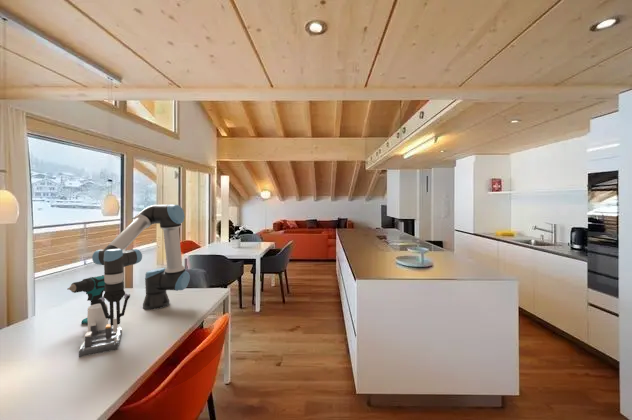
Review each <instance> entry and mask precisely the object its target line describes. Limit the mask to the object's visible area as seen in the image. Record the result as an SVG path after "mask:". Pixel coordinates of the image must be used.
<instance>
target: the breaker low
mask: <svg viewBox="0 0 632 420" xmlns="http://www.w3.org/2000/svg"><path fill="white" fill-rule="evenodd" d="M91 332H92V335H97V322H92V323H91Z"/></svg>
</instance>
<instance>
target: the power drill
mask: <svg viewBox="0 0 632 420" xmlns="http://www.w3.org/2000/svg"><path fill="white" fill-rule="evenodd" d="M67 290H69V291H71V292H72V293H73V294H75V293H82V292H84V293H86V294H85V295H87V300H86V301H89V302H90V306H91V305H94V304H100V303H99V302H98V300H99V298H102V297H103V296H104V294H103V293H105V281H104V274H103V275H99V276H90V277H88V278H83V279H82V280H79V281H75V282H73V283H71V284H70V286H69V287H68V288H67ZM108 320H110V319H109V318H108ZM82 324H83V325H84V324H88V319H87V317H85V318H83V319H82V320H81V325H82Z"/></svg>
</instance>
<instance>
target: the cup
mask: <svg viewBox="0 0 632 420" xmlns="http://www.w3.org/2000/svg"><path fill="white" fill-rule="evenodd" d="M105 304H106V307H107V310H108V311H109V307H108V304H107V303H105ZM86 315H87V317H86V318H87V319H88V323H87V329H88V330H87V332H91V323H92V322H97V331H98V330H104V329H105V327H106V325H107V324H109V319H108V318H107V319H106V318H105V315H104V312H103V309H102V306H101V304H94V305H91V304H90V306H88V308H87V314H86Z"/></svg>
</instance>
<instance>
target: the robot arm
mask: <svg viewBox="0 0 632 420" xmlns="http://www.w3.org/2000/svg"><path fill="white" fill-rule="evenodd" d="M184 221H185V212H184V210H183V208H182V207H181V206H180V205H179V204H172V203H171V204H166V203H165V204H152V205H150V206H147V207H145V208H144V209H143V210H141V211H140V212H138V214H136V215H135V216H134V219H133V220H132V221H131V223H129V224H128V225H127V226H126V227H125V228H124V229H123V230H122V231H120V233H119V234H118V235H117V236H116V237H115V238H114V239H113V240H112V241H111V242H110V243H109V244H108V245H107V246H105V248H104V249H103V248H102V249H97V250H95V251H94V252H93V253H92V257H91V260H92V261H93V264H95V265H100V266H103V267H104V268H103V269H104V270H103V271H104V272H103V275H104V281H105V291H104V294H103V295H102V298H99V300H98V302H99V303H100V304H101V306H102V309H103V312H104V315H105V318H106V319H107V318H109V319H108V320H109V324H110V325H111V326H112V328H113V333H116V332H117V331H118V328H119V326H118V325H120V324H121V318H122V317H124V315H125V313H126V309H127V306H128V305H127V304H128V301H129V300H130V298H131V294H130V293H129V294H128V293H127V292H126V291H125V285H124V268H125V267H129V266H133V265H136V264H138V263H140V262H141V261H142V259H143V253H142V252H141V250H139V248H138V249H136V248H135V249H133V248H132V249H128V250H127V248H129V246H130V245H131V244H132V243H133V241H135V240H136V238H137V237H138V236H139V235H141V233H143V231H144V230H145V229H147V228H149V227H151V226H152V225H154V224H156V225H157V224H159V227H160V229H162V230H163V231H162V232H163V239H164V250H165V260H166V267H162V268H161V267H159V268H155V269H151V270H148V271H146V272H145V278H144V279H145V280H144V281H145V282H144V283H145V296H144V299H143V303H142V309H144V310H149V311H150V310H151V311H152V310H159V309H164V308H167V307H168V306H169V305H170V298H169V295H168V293H167V291H183V290H185V289H186V288H187V287H188V285H189V282H190V278H191V275H190V273H189V271H186V267H185V266H183V261H182V260H183V259H182V251H181V250H182V248H181V241H180V240H181V238H180V228H181V226H182V223H183V222H184ZM123 298H124V300H123V301H124V302H123V306H122V310H121V300H122V299H123ZM105 301H107V302H108V303H109V309H108V310H107V307H108V306H107V307H106V304H107V303H106V302H105ZM114 303H115V305H116V306H115V307H116V316H115V313H114V312H115V311H114V308H115V307H114Z"/></svg>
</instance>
